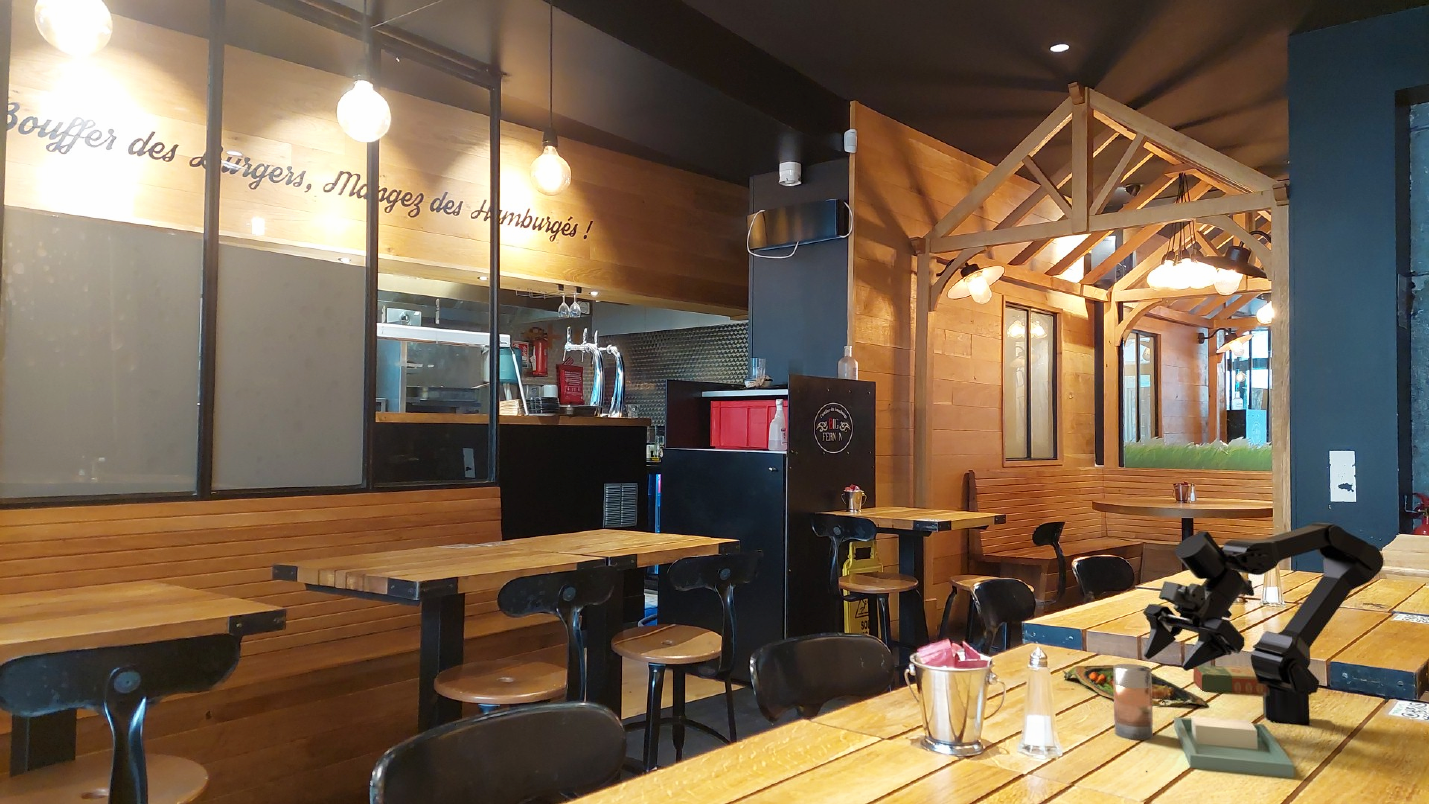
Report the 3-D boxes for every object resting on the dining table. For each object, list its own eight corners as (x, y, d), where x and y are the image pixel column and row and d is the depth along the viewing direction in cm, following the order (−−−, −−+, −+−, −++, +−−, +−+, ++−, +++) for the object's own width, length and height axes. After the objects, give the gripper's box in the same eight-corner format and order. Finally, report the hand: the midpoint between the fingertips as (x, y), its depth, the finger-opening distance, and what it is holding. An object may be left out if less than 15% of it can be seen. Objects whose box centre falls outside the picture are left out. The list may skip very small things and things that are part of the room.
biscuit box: (1250, 738, 162) (1250, 720, 162) (1257, 749, 156) (1257, 730, 157) (1191, 733, 165) (1191, 715, 165) (1196, 743, 159) (1196, 725, 160)
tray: (1264, 739, 164) (1264, 724, 164) (1294, 782, 143) (1293, 765, 143) (1174, 731, 168) (1174, 717, 168) (1190, 771, 148) (1190, 755, 148)
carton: (1290, 699, 191) (1289, 677, 191) (1201, 693, 195) (1201, 672, 196) (1277, 688, 199) (1277, 667, 199) (1193, 683, 203) (1192, 663, 204)
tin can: (1151, 735, 166) (1149, 665, 167) (1154, 745, 161) (1153, 673, 161) (1113, 731, 168) (1112, 662, 169) (1115, 741, 163) (1113, 670, 163)
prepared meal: (1219, 690, 184) (1133, 693, 181) (1219, 709, 184) (1134, 712, 181) (1132, 663, 212) (1056, 665, 209) (1132, 679, 211) (1057, 681, 208)
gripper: (1150, 559, 178) (1101, 622, 175) (1228, 572, 160) (1175, 642, 157) (1186, 600, 180) (1138, 663, 176) (1268, 617, 162) (1216, 687, 158)
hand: (1164, 663), depth 167 cm, fingers open, 9 cm apart
